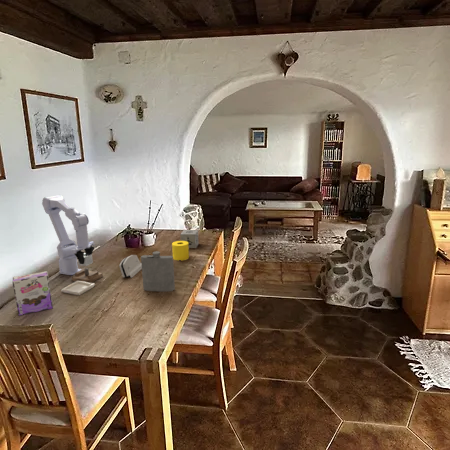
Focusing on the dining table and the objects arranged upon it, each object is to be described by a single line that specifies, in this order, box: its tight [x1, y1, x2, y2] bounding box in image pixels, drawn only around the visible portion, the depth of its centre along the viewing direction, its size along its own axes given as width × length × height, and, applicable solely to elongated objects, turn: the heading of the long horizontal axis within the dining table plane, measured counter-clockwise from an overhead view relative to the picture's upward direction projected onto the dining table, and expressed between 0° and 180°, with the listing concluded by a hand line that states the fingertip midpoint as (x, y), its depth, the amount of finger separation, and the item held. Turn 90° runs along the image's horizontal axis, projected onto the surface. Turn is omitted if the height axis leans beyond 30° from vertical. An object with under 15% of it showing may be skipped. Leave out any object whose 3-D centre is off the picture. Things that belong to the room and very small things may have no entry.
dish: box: [61, 281, 96, 296], centre depth 178 cm, size 11×11×2 cm
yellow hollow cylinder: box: [171, 240, 190, 262], centre depth 219 cm, size 10×10×9 cm
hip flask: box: [140, 250, 176, 292], centre depth 174 cm, size 16×4×20 cm, turn 85°
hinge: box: [118, 254, 142, 278], centre depth 198 cm, size 17×5×10 cm, turn 168°
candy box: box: [12, 271, 53, 316], centre depth 157 cm, size 14×6×16 cm, turn 117°
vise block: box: [71, 267, 104, 283], centre depth 190 cm, size 13×10×6 cm
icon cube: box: [180, 229, 199, 249], centre depth 240 cm, size 10×10×10 cm
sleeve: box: [77, 252, 94, 267], centre depth 188 cm, size 5×5×5 cm
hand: (85, 261), depth 188 cm, fingers closed on sleeve, 5 cm apart
